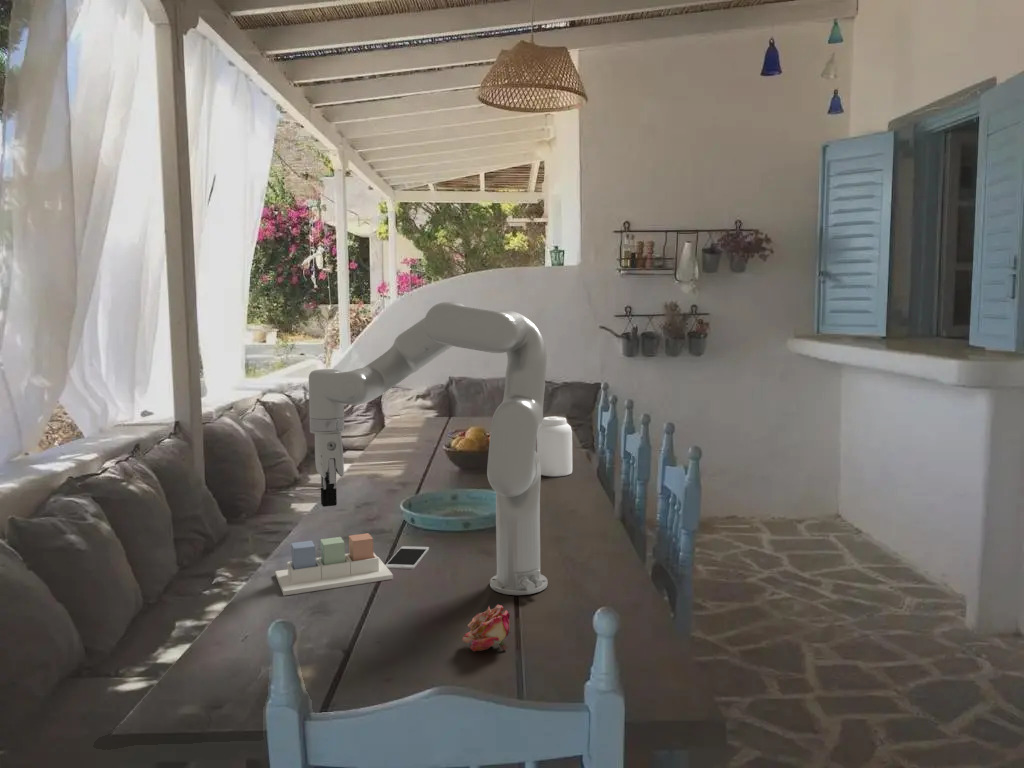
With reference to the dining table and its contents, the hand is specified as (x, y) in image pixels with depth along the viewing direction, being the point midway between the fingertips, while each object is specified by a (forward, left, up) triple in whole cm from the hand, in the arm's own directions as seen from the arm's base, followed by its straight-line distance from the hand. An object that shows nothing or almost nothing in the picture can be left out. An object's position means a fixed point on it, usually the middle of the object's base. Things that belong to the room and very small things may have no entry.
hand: (328, 505), depth 183 cm
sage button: (0, 0, -13) cm, 13 cm away
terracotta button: (0, -7, -13) cm, 15 cm away
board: (0, 0, -17) cm, 17 cm away
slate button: (0, +6, -13) cm, 15 cm away
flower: (-50, -18, -17) cm, 56 cm away
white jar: (+74, -92, -17) cm, 119 cm away
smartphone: (+6, -19, -17) cm, 27 cm away
